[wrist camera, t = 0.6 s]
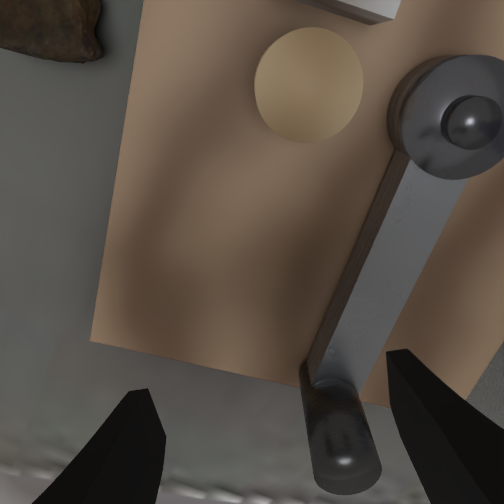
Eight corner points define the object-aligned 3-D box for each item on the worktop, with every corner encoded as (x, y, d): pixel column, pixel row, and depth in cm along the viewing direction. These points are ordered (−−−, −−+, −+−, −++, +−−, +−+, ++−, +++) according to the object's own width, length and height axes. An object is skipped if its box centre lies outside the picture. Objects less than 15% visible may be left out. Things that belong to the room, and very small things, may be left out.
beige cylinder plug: (356, 48, 17) (380, 47, 14) (325, 138, 18) (340, 155, 15) (268, 20, 16) (273, 11, 13) (243, 114, 18) (242, 126, 15)
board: (657, 60, 18) (766, 62, 14) (443, 406, 26) (476, 466, 22) (169, -114, 16) (144, -169, 12) (97, 327, 24) (67, 380, 20)
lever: (414, 39, 16) (498, 31, 11) (516, 74, 17) (644, 82, 11) (277, 383, 24) (286, 484, 18) (352, 400, 24) (383, 503, 18)
